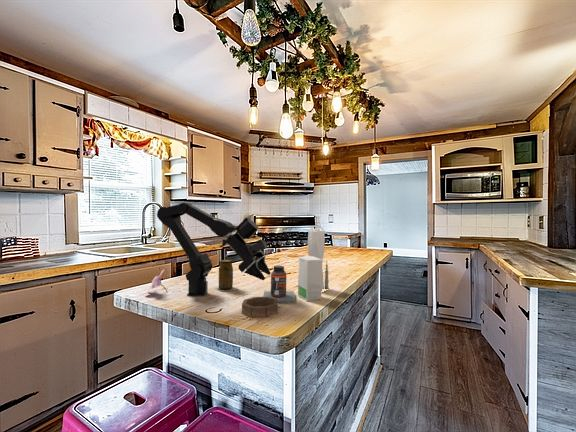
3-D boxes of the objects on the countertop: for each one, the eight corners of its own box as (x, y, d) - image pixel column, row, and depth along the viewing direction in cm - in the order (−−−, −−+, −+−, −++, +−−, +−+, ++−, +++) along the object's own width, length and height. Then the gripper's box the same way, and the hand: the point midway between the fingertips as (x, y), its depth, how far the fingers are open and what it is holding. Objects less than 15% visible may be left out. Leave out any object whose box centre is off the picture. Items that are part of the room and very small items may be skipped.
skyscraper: (321, 294, 115) (322, 225, 114) (303, 291, 119) (304, 225, 118) (329, 289, 122) (329, 225, 122) (312, 287, 126) (312, 224, 126)
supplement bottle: (279, 298, 104) (279, 268, 104) (267, 295, 108) (267, 266, 108) (289, 295, 109) (289, 266, 109) (277, 292, 112) (277, 264, 112)
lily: (157, 290, 122) (145, 272, 119) (181, 280, 121) (169, 262, 118) (145, 307, 110) (131, 288, 108) (171, 297, 109) (158, 277, 106)
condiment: (229, 285, 127) (229, 258, 127) (238, 289, 121) (238, 261, 121) (214, 287, 123) (214, 260, 123) (223, 292, 116) (223, 263, 116)
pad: (262, 303, 102) (262, 300, 102) (264, 293, 114) (264, 291, 114) (295, 303, 102) (295, 300, 102) (293, 293, 114) (293, 291, 114)
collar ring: (240, 317, 88) (240, 307, 88) (245, 305, 100) (245, 296, 100) (277, 317, 88) (277, 307, 88) (277, 305, 100) (278, 296, 100)
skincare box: (297, 295, 112) (297, 256, 112) (312, 293, 114) (312, 255, 114) (307, 301, 104) (307, 259, 104) (322, 299, 107) (323, 258, 107)
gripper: (247, 234, 100) (277, 267, 99) (261, 231, 119) (286, 259, 117) (226, 255, 102) (255, 288, 100) (242, 249, 120) (267, 276, 118)
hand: (267, 276), depth 109 cm, fingers open, 9 cm apart
